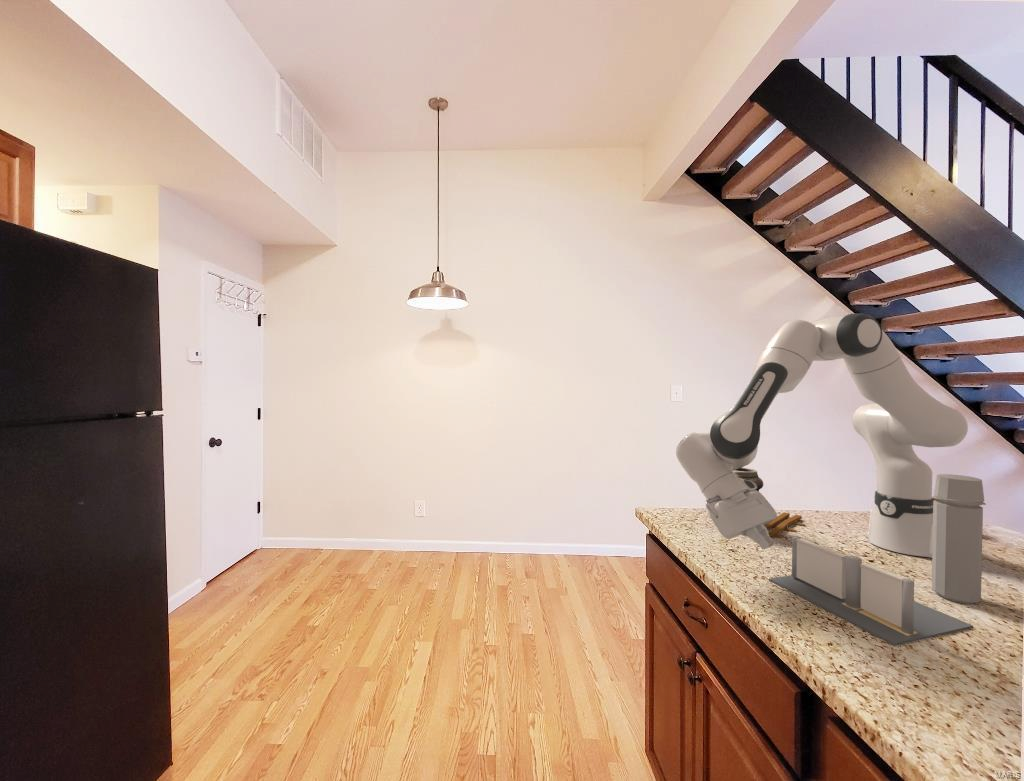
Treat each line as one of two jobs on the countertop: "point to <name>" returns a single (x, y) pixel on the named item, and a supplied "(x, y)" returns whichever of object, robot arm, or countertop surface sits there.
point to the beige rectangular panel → (819, 566)
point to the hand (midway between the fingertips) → (769, 546)
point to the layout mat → (924, 617)
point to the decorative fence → (783, 524)
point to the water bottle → (957, 538)
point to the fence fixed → (880, 593)
